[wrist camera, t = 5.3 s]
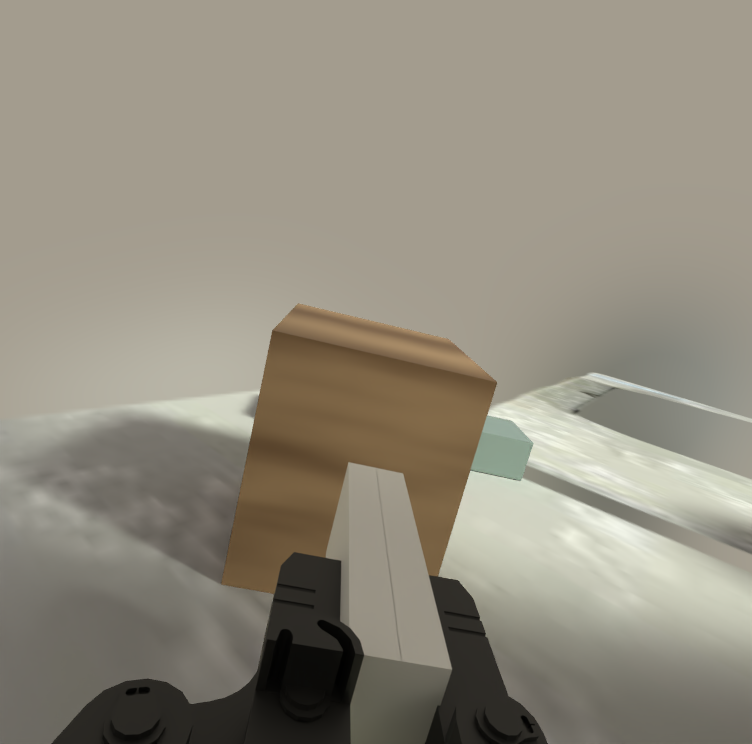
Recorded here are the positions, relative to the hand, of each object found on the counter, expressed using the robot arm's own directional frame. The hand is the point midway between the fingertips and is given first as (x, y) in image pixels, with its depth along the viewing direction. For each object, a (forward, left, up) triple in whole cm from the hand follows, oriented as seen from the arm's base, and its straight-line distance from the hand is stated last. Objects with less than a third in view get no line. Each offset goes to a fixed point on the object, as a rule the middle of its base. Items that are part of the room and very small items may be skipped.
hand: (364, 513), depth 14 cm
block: (-4, -8, -7) cm, 11 cm away
